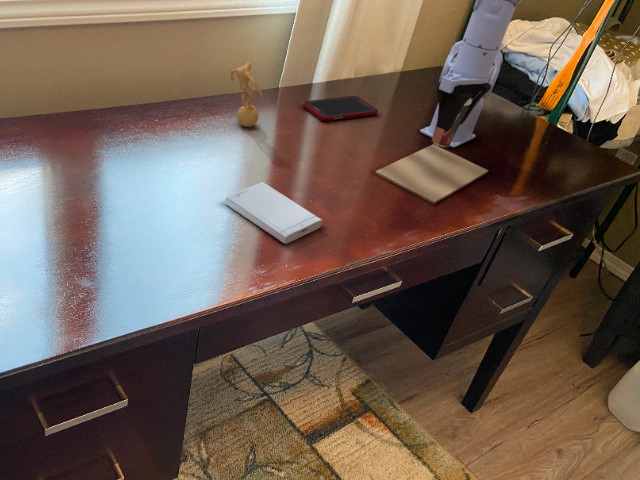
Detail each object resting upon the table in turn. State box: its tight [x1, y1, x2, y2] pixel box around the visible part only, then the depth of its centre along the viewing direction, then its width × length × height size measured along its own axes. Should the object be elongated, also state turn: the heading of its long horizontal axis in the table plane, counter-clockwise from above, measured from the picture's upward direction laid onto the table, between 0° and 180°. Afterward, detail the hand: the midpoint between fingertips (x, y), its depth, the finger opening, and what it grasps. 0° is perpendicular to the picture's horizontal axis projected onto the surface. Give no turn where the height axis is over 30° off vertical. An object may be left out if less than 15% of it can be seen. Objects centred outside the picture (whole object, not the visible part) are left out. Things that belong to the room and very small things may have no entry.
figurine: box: [230, 62, 264, 128], centre depth 110 cm, size 8×6×12 cm
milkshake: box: [431, 91, 481, 148], centre depth 103 cm, size 5×5×10 cm
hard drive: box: [224, 181, 323, 245], centre depth 91 cm, size 2×8×12 cm
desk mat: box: [374, 143, 489, 205], centre depth 110 cm, size 20×12×1 cm, turn 136°
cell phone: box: [302, 95, 379, 122], centre depth 125 cm, size 8×15×1 cm, turn 121°
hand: (449, 125), depth 104 cm, fingers closed on milkshake, 4 cm apart
